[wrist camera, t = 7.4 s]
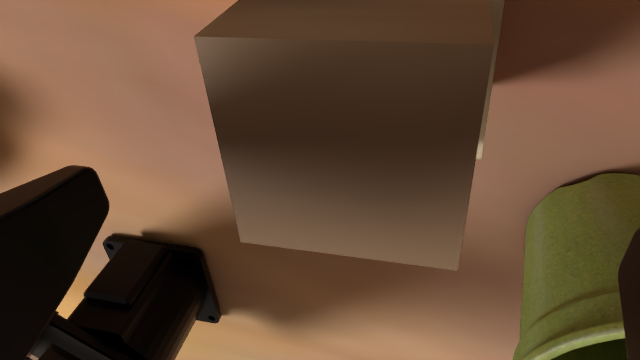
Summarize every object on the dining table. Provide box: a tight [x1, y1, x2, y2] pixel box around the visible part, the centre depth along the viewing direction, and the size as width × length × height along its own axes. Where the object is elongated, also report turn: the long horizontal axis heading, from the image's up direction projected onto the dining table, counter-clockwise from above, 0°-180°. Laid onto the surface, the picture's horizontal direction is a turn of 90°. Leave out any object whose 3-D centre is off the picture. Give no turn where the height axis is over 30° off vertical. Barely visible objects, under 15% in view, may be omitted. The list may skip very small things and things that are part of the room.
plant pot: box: [513, 173, 640, 360], centre depth 17 cm, size 9×9×9 cm
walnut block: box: [194, 0, 494, 271], centre depth 11 cm, size 5×5×5 cm
